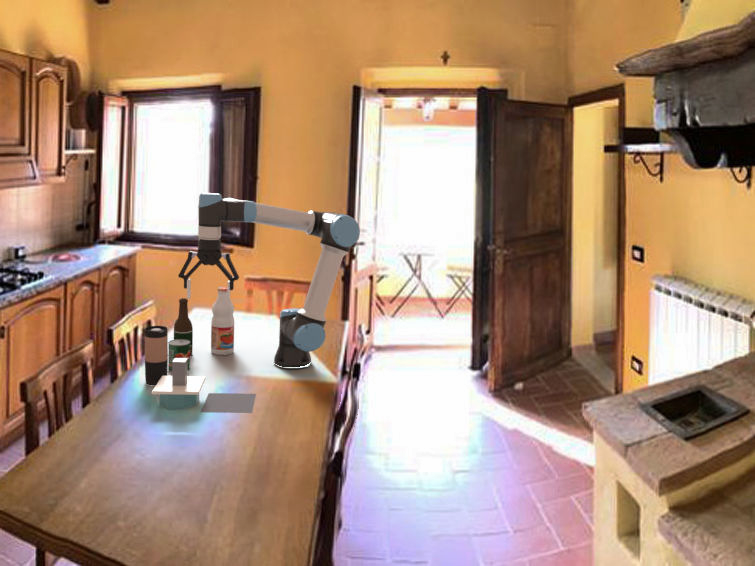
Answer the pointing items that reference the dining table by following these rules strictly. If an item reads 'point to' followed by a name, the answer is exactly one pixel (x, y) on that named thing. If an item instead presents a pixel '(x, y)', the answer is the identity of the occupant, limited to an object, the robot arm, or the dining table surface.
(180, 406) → the bowl
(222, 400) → the mat
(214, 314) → the fruit juice
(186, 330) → the beer bottle
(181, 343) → the canned tomato
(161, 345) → the travel mug
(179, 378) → the lid
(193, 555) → the dining table surface
